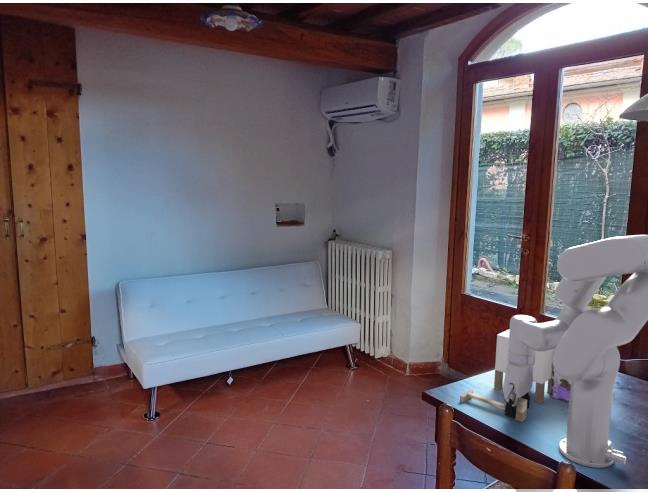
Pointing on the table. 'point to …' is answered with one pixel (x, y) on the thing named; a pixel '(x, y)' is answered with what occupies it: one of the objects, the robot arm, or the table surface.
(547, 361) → the cabinet
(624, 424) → the table surface
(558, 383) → the candy box
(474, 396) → the wooden mallet
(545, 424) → the table surface
